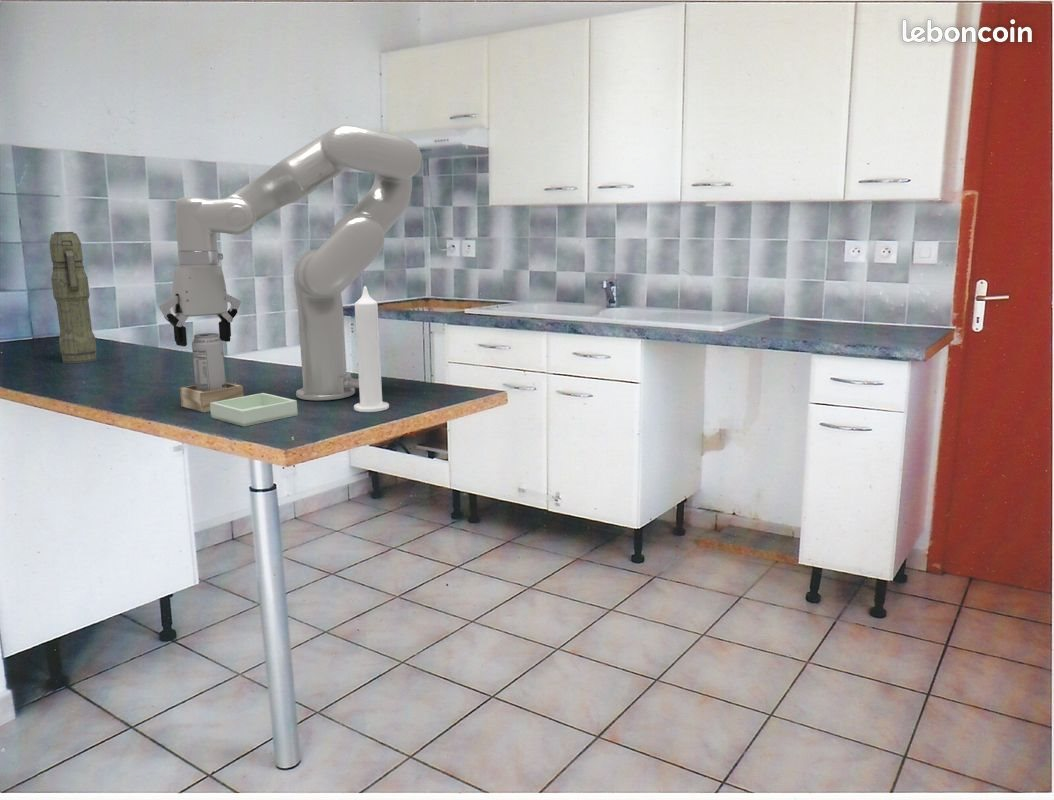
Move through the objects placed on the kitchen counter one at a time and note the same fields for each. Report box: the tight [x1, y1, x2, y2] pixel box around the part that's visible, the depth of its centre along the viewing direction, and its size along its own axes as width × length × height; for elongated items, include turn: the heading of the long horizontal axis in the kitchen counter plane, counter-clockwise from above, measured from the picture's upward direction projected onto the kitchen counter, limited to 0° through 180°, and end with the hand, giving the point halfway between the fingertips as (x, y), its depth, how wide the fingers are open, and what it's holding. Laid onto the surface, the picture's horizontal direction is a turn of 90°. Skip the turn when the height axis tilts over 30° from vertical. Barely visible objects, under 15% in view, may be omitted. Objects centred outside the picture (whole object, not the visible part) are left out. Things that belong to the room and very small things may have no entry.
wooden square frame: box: [179, 381, 245, 413], centre depth 184 cm, size 9×9×4 cm
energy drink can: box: [191, 332, 227, 392], centre depth 183 cm, size 6×6×15 cm
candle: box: [353, 285, 390, 413], centre depth 177 cm, size 7×7×25 cm
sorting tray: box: [209, 392, 299, 428], centre depth 174 cm, size 12×12×3 cm
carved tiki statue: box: [49, 231, 98, 365], centre depth 239 cm, size 9×12×35 cm
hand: (203, 343), depth 181 cm, fingers open, 9 cm apart
